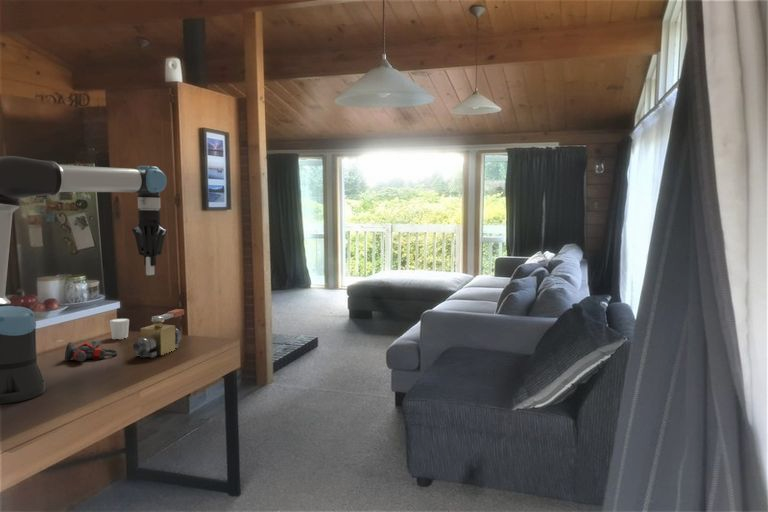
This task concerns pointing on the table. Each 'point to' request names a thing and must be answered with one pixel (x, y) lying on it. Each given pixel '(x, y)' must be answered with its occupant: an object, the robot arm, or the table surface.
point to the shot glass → (119, 328)
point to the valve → (87, 352)
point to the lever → (168, 315)
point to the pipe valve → (157, 340)
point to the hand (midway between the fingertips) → (150, 274)
